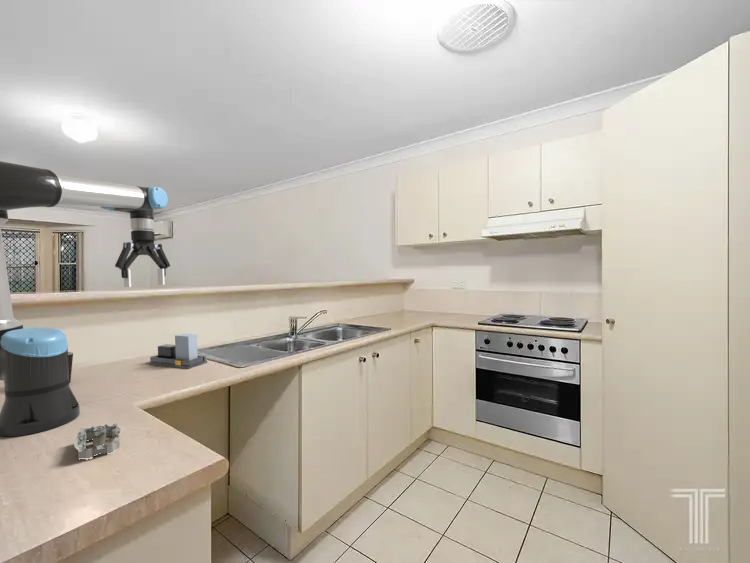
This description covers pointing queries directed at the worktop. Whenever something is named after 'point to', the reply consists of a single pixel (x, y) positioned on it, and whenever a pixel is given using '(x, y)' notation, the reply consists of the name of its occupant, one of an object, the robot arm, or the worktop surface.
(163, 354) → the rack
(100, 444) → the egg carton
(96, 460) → the worktop surface
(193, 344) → the light blue upright block
